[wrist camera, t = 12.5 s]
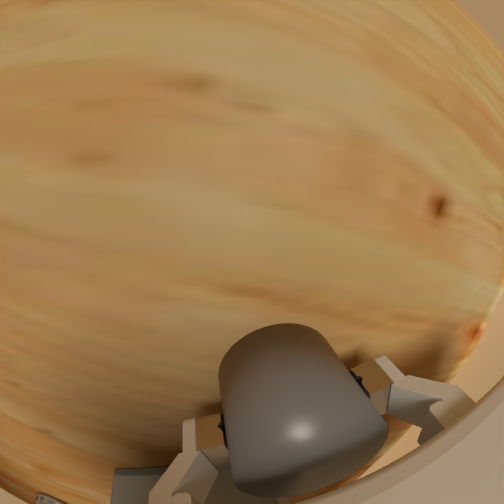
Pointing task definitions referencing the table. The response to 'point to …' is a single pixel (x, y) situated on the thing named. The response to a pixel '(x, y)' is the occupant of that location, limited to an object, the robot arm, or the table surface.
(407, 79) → the table surface
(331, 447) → the dome topped knob
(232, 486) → the storage box
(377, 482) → the robot arm
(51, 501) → the energy drink
